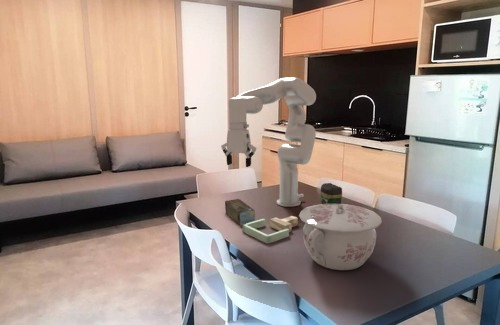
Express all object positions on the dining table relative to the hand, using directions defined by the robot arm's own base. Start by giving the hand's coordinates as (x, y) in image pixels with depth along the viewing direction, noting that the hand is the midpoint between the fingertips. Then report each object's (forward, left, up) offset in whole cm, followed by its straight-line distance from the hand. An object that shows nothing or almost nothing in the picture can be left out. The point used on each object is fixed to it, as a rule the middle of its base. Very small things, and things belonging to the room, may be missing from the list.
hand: (238, 165), depth 159 cm
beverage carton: (-5, -6, -27) cm, 28 cm away
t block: (-12, +17, -27) cm, 34 cm away
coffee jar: (-29, +28, -27) cm, 48 cm away
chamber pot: (-4, +52, -27) cm, 58 cm away
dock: (-1, +17, -27) cm, 32 cm away
